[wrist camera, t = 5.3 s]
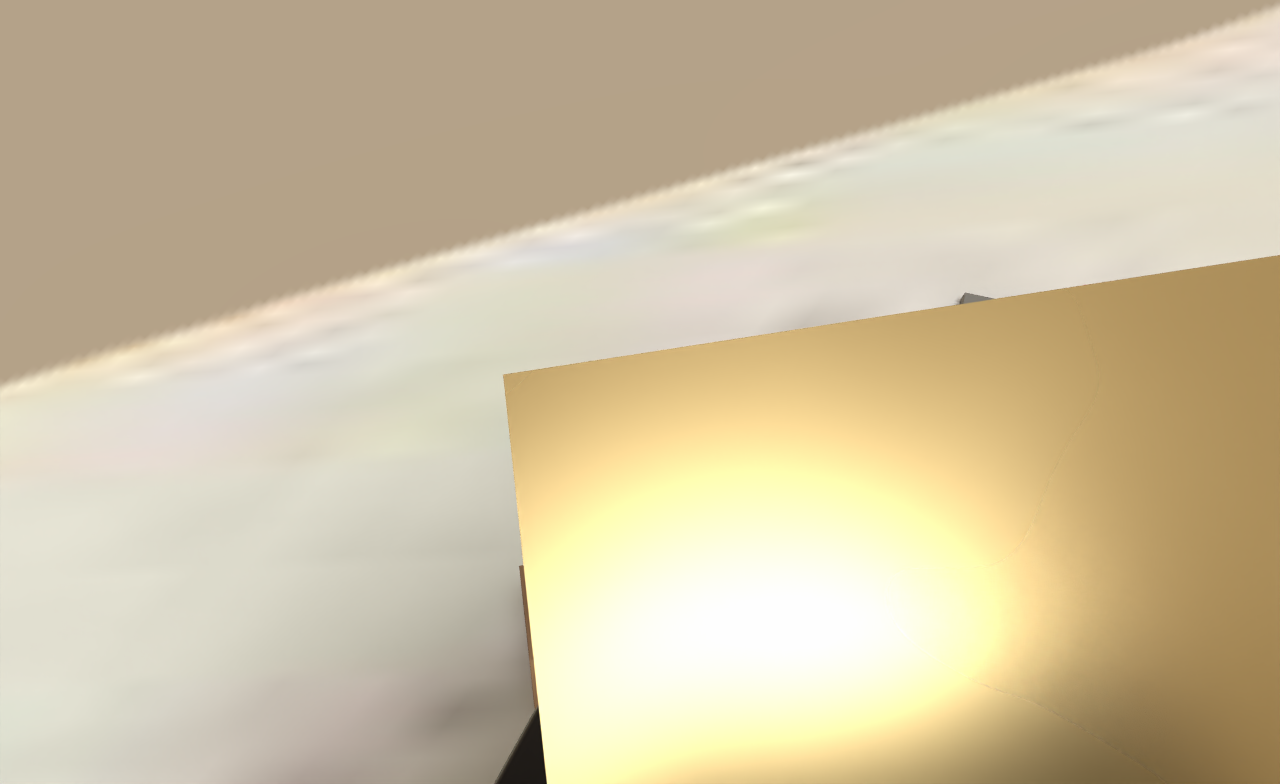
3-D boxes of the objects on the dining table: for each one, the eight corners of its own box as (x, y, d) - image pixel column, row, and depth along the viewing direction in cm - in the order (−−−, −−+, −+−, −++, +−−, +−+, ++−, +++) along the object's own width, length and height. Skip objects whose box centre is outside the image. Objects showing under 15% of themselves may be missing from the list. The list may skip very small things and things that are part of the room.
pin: (922, 879, 14) (2378, 1687, 2) (671, 922, 14) (680, 2027, 2) (862, 621, 16) (1517, 218, 4) (633, 659, 16) (502, 373, 3)
